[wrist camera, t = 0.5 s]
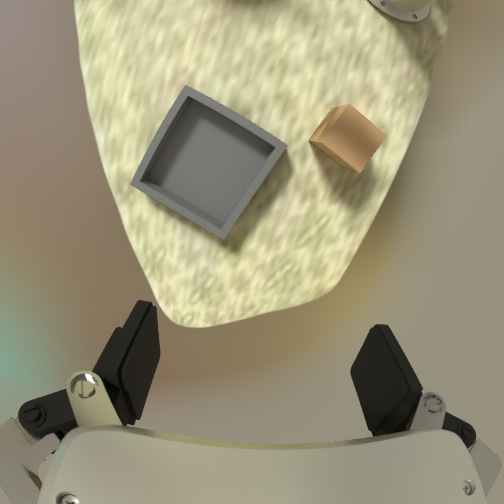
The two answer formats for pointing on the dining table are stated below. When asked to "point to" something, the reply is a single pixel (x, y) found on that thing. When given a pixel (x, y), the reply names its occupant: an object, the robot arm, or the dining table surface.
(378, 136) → the wooden block
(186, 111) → the tray
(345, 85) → the dining table surface
